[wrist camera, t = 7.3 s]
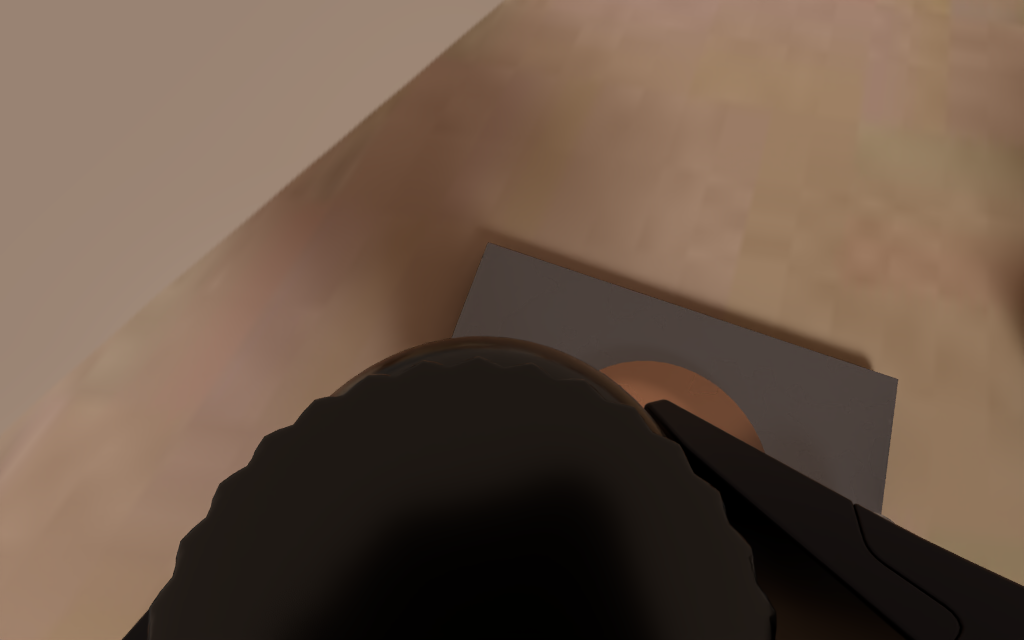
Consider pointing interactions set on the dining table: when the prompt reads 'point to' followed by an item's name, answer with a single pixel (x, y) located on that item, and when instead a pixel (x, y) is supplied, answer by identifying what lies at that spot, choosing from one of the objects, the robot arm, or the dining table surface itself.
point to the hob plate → (699, 368)
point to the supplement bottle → (467, 516)
